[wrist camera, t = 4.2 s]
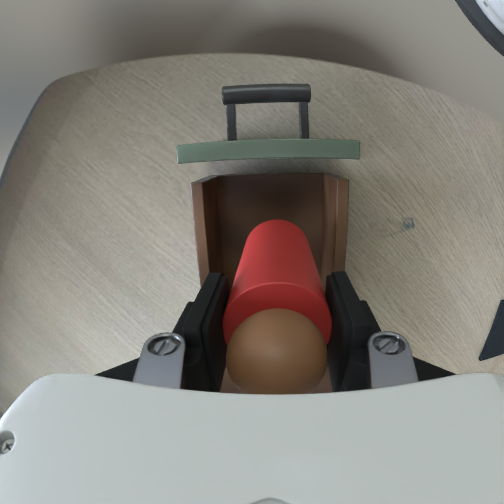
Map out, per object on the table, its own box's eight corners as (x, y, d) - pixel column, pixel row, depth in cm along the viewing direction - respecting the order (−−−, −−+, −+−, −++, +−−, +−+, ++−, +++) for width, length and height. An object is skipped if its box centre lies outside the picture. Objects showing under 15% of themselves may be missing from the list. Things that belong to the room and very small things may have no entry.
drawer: (198, 99, 21) (173, 83, 15) (335, 95, 20) (356, 77, 14) (213, 303, 27) (198, 342, 21) (332, 301, 26) (345, 340, 21)
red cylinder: (243, 219, 17) (193, 336, 7) (309, 218, 17) (360, 336, 6) (246, 279, 19) (213, 429, 8) (308, 279, 18) (336, 429, 8)
